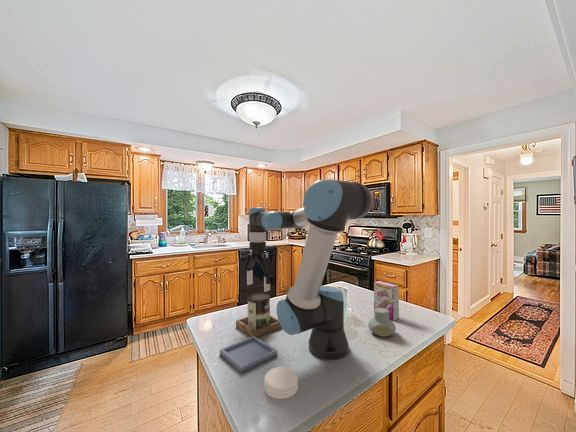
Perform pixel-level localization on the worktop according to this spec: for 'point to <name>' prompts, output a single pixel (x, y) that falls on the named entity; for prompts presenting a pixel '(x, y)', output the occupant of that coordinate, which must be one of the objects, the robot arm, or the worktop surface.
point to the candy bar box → (387, 298)
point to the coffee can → (258, 310)
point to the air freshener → (381, 323)
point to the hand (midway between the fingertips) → (258, 287)
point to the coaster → (281, 383)
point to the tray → (248, 354)
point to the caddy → (259, 332)
